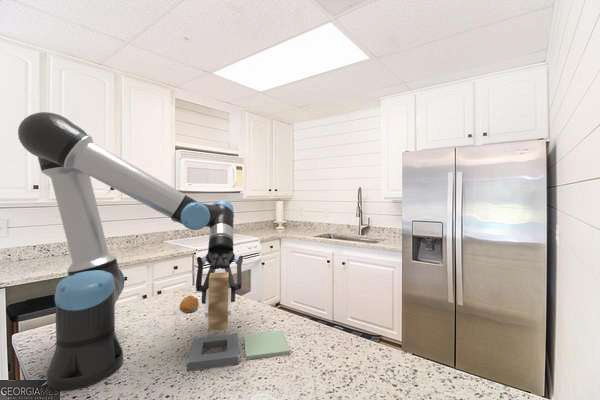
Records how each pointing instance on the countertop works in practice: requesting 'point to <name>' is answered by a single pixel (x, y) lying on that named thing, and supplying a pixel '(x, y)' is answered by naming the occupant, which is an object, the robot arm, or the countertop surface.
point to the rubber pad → (265, 345)
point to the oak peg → (218, 301)
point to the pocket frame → (214, 359)
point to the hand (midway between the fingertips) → (218, 313)
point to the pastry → (189, 304)
